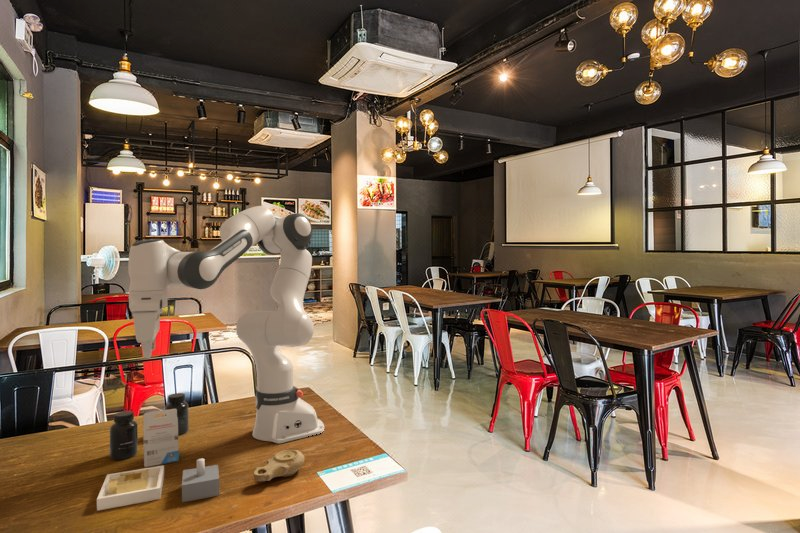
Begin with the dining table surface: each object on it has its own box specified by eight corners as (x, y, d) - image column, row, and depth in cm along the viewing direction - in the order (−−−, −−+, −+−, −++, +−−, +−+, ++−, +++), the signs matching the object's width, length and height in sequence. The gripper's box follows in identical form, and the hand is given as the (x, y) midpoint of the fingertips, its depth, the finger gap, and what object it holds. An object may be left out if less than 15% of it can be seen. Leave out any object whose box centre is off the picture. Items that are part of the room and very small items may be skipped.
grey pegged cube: (218, 480, 117) (217, 450, 117) (219, 495, 110) (218, 464, 110) (183, 486, 114) (182, 456, 114) (182, 502, 107) (181, 470, 106)
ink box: (178, 454, 132) (177, 403, 132) (178, 461, 128) (178, 408, 128) (144, 460, 128) (143, 407, 128) (143, 467, 124) (142, 413, 124)
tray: (164, 475, 120) (164, 465, 120) (160, 498, 108) (160, 487, 108) (107, 484, 115) (107, 474, 115) (96, 510, 103) (96, 499, 103)
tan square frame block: (148, 481, 115) (148, 469, 115) (146, 492, 110) (145, 480, 110) (111, 487, 112) (111, 475, 112) (107, 499, 107) (106, 486, 107)
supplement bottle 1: (125, 461, 128) (124, 418, 127) (103, 459, 129) (103, 416, 129) (143, 451, 134) (142, 410, 134) (123, 449, 136) (122, 408, 135)
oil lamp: (250, 489, 113) (250, 469, 112) (270, 463, 127) (270, 445, 127) (293, 491, 112) (293, 470, 112) (308, 464, 126) (308, 446, 126)
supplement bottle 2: (165, 430, 150) (164, 393, 150) (188, 426, 153) (187, 390, 153) (165, 438, 144) (164, 399, 144) (189, 434, 147) (188, 396, 147)
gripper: (139, 298, 129) (140, 347, 129) (129, 305, 110) (130, 363, 110) (164, 297, 131) (165, 345, 132) (158, 304, 113) (159, 361, 113)
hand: (149, 353), depth 121 cm, fingers open, 8 cm apart
